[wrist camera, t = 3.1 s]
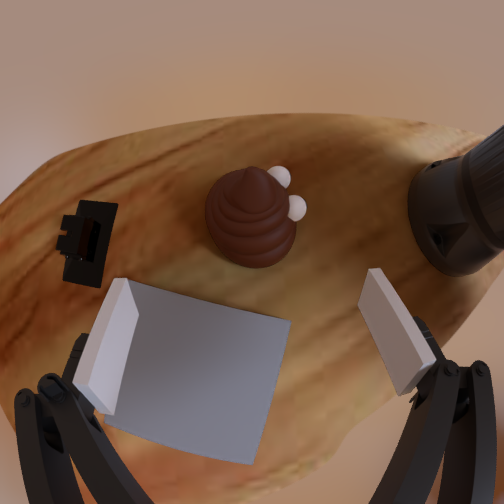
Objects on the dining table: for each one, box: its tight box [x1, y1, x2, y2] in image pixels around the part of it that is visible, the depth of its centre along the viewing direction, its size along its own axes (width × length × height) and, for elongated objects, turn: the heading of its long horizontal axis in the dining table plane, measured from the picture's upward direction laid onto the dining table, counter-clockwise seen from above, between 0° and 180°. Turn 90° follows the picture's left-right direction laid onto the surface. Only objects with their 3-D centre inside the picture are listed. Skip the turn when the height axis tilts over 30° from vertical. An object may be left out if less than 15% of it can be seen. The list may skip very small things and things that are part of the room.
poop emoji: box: [205, 166, 307, 268], centre depth 23 cm, size 10×8×9 cm
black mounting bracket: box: [56, 200, 118, 288], centre depth 25 cm, size 12×7×5 cm, turn 173°
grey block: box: [104, 280, 291, 465], centre depth 22 cm, size 14×14×4 cm
